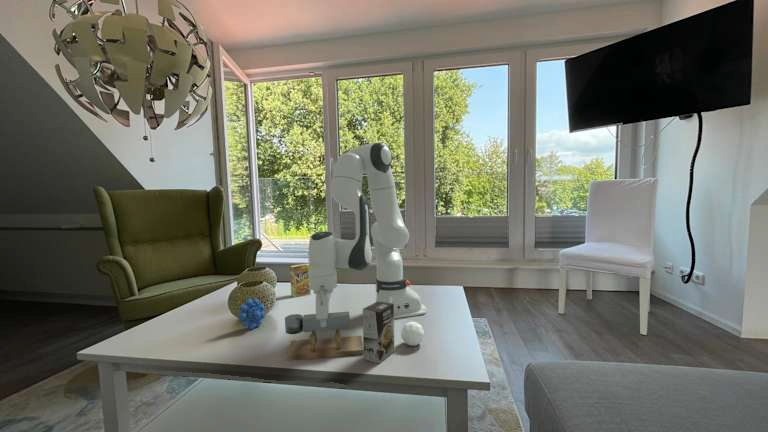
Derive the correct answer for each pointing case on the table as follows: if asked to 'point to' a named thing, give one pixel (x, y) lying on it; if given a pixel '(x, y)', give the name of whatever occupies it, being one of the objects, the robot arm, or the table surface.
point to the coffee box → (378, 331)
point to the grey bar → (316, 322)
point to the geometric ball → (412, 333)
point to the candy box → (300, 280)
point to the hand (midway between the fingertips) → (324, 323)
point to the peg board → (325, 347)
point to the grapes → (251, 313)
